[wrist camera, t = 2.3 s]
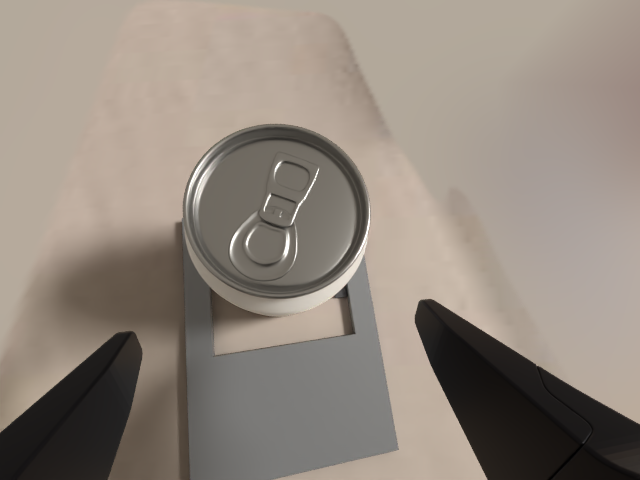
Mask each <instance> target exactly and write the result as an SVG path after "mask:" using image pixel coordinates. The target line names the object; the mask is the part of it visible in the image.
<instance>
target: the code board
mask: <svg viewBox="0 0 640 480" xmlns="http://www.w3.org/2000/svg"><path fill="white" fill-rule="evenodd" d="M182 237H183V270H184V302H185V335H186V368H187V401H188V434H189V466H190V480H272V479H277V478H281V477H285V476H289V475H294V474H298V473H302V472H307V471H311V470H315V469H319V468H324V467H328V466H332V465H336V464H341V463H345V462H349V461H353V460H358V459H362V458H366V457H370V456H375V455H379V454H383V453H388V452H392V451H396V450H399V449H398V443H397V438H396V432H395V426H394V421H393V415H392V409H391V404H390V398H389V393H388V387H387V381H386V376H385V370H384V364H383V359H382V353H381V348H380V342H379V336H378V331H377V325H376V319H375V314H374V308H373V303H372V297H371V291H370V286H369V280H368V274H367V269H366V263H365V258H364V255H363V258H362V260H361V263H360V265H359V267H358V268H357V270H356V272H355V273H354V275H353V276H352V278H351V279H350V280H349V281H348V283H347V284H346V288H345V286H344V287H343V288H342V289H341V290H340V291H339V292H338V293H337V294H335V298H340V297H347V296H348V302H349V308H350V315H351V321H352V327H353V334H349V335H343V336H336V337H330V338H324V339H318V340H311V341H305V342H299V343H293V344H286V345H280V346H274V347H267V348H261V349H255V350H249V351H242V352H236V353H230V354H224V355H217V356H215V354H214V335H213V316H212V297H211V287H210V286H209V285H208V284H207V283H206V282H205V281H204V279H203V278H202V277H201V275H200V274H199V272H198V271H197V269H196V268H195V266H194V264H193V262H192V260H191V257H190V255H189V252H188V248H187V245H186V239H185V230H184V221H183V218H182ZM346 290H347V294H346Z"/></svg>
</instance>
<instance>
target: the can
mask: <svg viewBox="0 0 640 480" xmlns="http://www.w3.org/2000/svg"><path fill="white" fill-rule="evenodd" d="M370 216H371V210H370V200H369V195H368V191H367V188H366V185H365V182H364V180H363V177H362V175H361V173H360V172H359V170H358V168H357V167H356V165H355V164H354V162H353V161H352V160H351V159H350V157H349V156H348V155H347V154H346V153H345V152H344V151H343V150H342V149H341V148H340V147H338V146H337V145H336V144H335V143H333V142H332V141H330V140H329V139H327V138H325V137H324V136H322V135H320V134H318V133H316V132H313V131H311V130H308V129H305V128H302V127H298V126H293V125H286V124H264V125H257V126H252V127H249V128H245V129H242V130H239V131H237V132H235V133H233V134H230V135H229V136H227V137H225V138H223V139H222V140H220V141H219V142H218V143H216V144H215V145H214V146H213V147H211V148H210V149H209V150H208V151H207V152H206V153H205V154H204V155H203V157H202V158H201V159H200V160H199V162H198V163H197V165H196V166H195V168H194V170H193V171H192V173H191V175H190V178H189V180H188V183H187V186H186V189H185V193H184V199H183V221H184V230H185V239H186V245H187V248H188V252H189V255H190V257H191V260H192V262H193V264H194V266H195V268H196V269H197V271H198V272H199V274H200V275H201V277H202V278H203V279H204V281H205V282H206V283H207V284H208V285H209V286H210V287H211V288H212V289H213V290H214V291H215V292H216V293H217V294H218V295H220V296H221V297H222V298H224V299H225V300H227V301H229V302H230V303H232V304H234V305H236V306H238V307H240V308H242V309H245V310H247V311H250V312H253V313H257V314H261V315H266V316H275V317H282V316H289V315H293V314H297V313H301V312H304V311H307V310H309V309H312V308H314V307H316V306H318V305H320V304H322V303H324V302H325V301H327V300H329V299H330V298H332V297H333V296H334V295H335V294H337V293H338V292H339V291H340V290H341V289H342V288H343V287H344V286H345V285H346V284H347V283H348V281H349V280H350V279H351V278H352V276H353V275H354V273H355V272H356V270H357V268H358V267H359V265H360V263H361V260H362V258H363V255H364V252H365V249H366V244H367V239H368V231H369V226H370Z"/></svg>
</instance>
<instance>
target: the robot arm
mask: <svg viewBox="0 0 640 480" xmlns="http://www.w3.org/2000/svg"><path fill="white" fill-rule="evenodd" d="M415 324H416V327H417V330H418V332H419V335H420V338H421V340H422V343H423V346H424V348H425V351H426V354H427V356H428V359H429V361H430V364H431V366H432V368H433V371H434V373H435V375H436V377H437V379H438V381H439V383H440V385H441V387H442V389H443V391H444V393H445V395H446V397H447V399H448V401H449V403H450V405H451V407H452V409H453V411H454V413H455V415H456V417H457V419H458V421H459V423H460V425H461V427H462V429H463V431H464V433H465V435H466V437H467V439H468V441H469V443H470V445H471V447H472V449H473V451H474V453H475V455H476V457H477V459H478V461H479V463H480V465H481V467H482V469H483V471H484V473H485V475H486V477H487V479H488V480H640V424H638V423H636V422H634V421H633V420H631V419H629V418H627V417H625V416H623V415H622V414H620V413H618V412H616V411H615V410H613V409H611V408H609V407H607V406H605V405H603V404H602V403H600V402H598V401H596V400H595V399H593V398H591V397H589V396H588V395H586V394H584V393H582V392H581V391H579V390H577V389H575V388H574V387H572V386H570V385H569V384H567V383H565V382H564V381H562V380H560V379H559V378H557V377H555V376H554V375H552V374H551V373H549V372H547V371H546V370H544V369H543V368H541V367H539V366H536V364H535V363H533V362H531V361H530V360H528V359H527V358H525V357H523V356H522V355H520V354H519V353H517V352H515V351H514V350H512V349H511V348H509V347H507V346H506V345H504V344H503V343H501V342H500V341H498V340H496V339H495V338H493V337H492V336H490V335H488V334H487V333H485V332H484V331H482V330H480V329H479V328H477V327H476V326H474V325H473V324H471V323H469V322H468V321H466V320H465V319H463V318H461V317H460V316H458V315H457V314H455V313H453V312H452V311H450V310H449V309H447V308H445V307H444V306H442V305H441V304H439V303H438V302H436V301H434V300H432V299H425V300H420V301H419V303H418V307H417V311H416V314H415ZM142 354H143V353H142V348H141V346H140V343H139V341H138V338H137V336H136V334H135V333H134V332H133V331H126V332H119V333H117V334H115V335H114V336H113V337H111V338H110V339H109V340H108V341H107V342H106V343H104V344H103V345H102V346H101V347H100V348H99V349H97V350H96V351H95V352H94V353H93V354H92V355H90V356H89V357H88V358H87V359H86V360H85V361H83V362H82V363H81V364H80V365H79V366H78V367H76V368H75V369H74V370H73V371H72V372H71V373H69V374H68V375H67V376H66V377H65V378H64V379H62V380H61V381H60V382H59V383H58V384H57V385H55V386H54V387H53V388H52V389H51V390H50V391H48V392H47V393H46V394H45V395H44V396H43V397H41V398H40V399H39V400H38V401H37V402H36V403H34V404H33V405H32V406H31V407H30V408H29V409H27V410H26V411H25V412H24V413H23V414H22V415H20V416H19V417H18V418H17V419H16V420H14V421H13V422H12V423H11V424H10V425H9V426H7V427H6V428H5V429H4V430H3V431H2V432H0V480H108V477H109V474H110V471H111V468H112V465H113V462H114V459H115V456H116V453H117V450H118V447H119V444H120V441H121V438H122V435H123V432H124V429H125V426H126V423H127V420H128V417H129V413H130V410H131V406H132V402H133V398H134V393H135V388H136V384H137V379H138V375H139V370H140V365H141V361H142Z"/></svg>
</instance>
